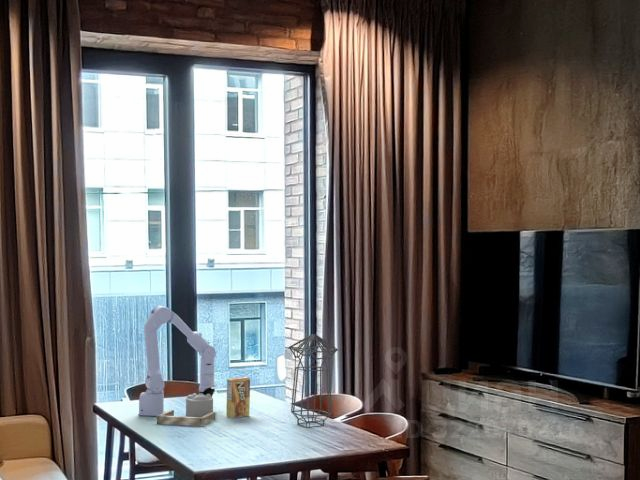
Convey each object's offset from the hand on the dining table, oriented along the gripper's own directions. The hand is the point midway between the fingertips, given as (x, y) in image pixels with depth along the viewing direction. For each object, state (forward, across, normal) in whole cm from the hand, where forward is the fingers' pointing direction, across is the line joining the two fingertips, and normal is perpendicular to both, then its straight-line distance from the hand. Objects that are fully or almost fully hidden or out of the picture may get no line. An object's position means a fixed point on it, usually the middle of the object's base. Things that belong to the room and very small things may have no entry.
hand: (206, 406), depth 364 cm
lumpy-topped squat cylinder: (+2, -9, 0) cm, 10 cm away
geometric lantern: (+2, -16, -49) cm, 52 cm away
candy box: (+2, -8, -16) cm, 18 cm away
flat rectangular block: (+2, -22, 0) cm, 22 cm away
